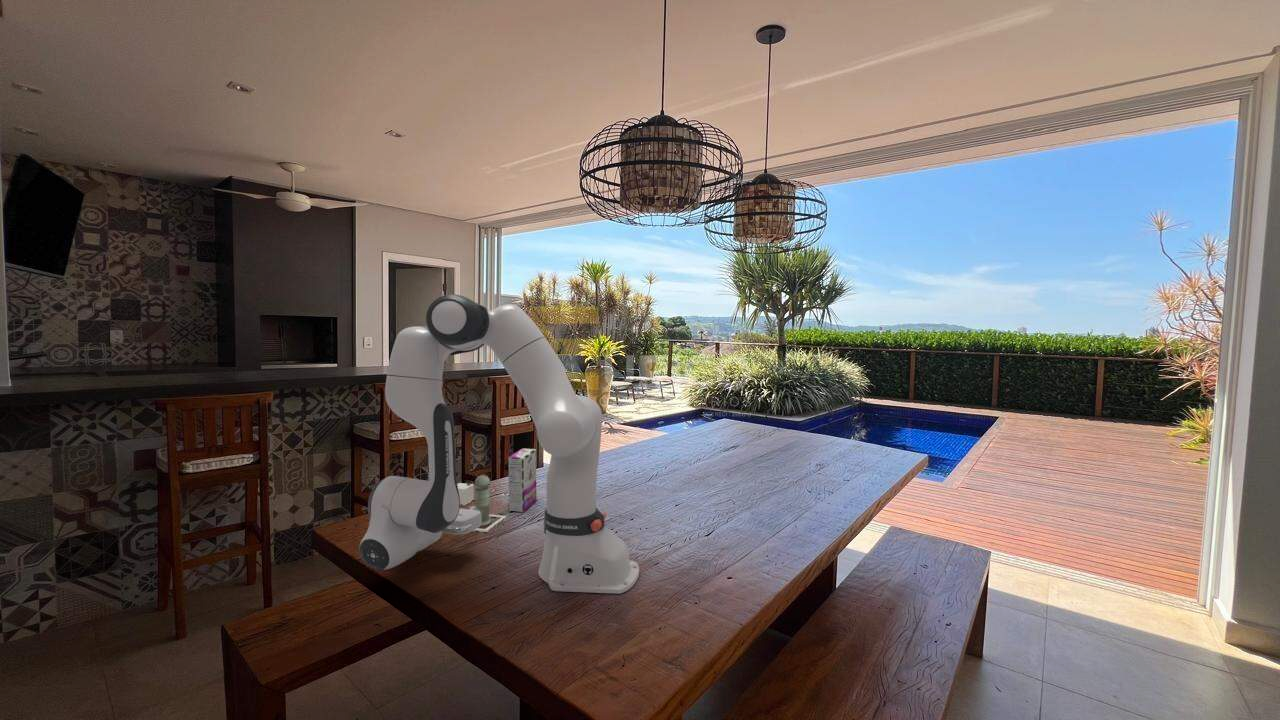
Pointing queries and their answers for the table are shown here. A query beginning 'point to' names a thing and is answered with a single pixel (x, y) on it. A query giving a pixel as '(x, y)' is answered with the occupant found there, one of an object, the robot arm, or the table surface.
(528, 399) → the robot arm
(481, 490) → the pawn
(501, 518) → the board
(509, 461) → the candy bar box
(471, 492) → the die
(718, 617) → the table surface
